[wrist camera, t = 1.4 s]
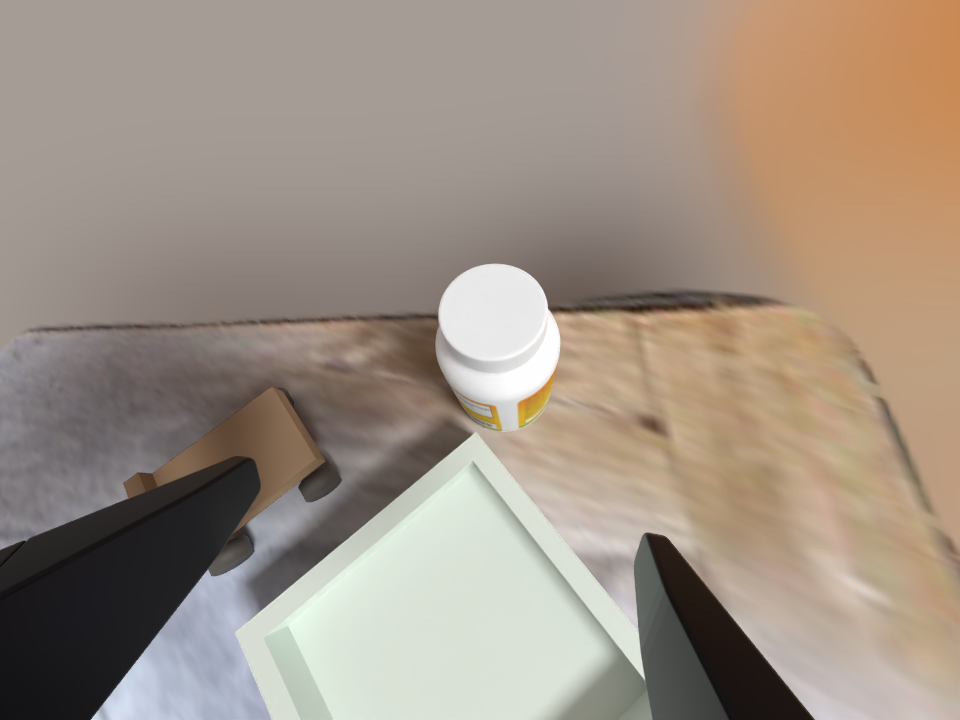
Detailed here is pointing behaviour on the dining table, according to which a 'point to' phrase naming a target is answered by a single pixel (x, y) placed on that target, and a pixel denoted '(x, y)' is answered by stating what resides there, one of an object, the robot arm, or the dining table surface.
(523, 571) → the tray
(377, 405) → the dining table surface
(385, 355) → the dining table surface
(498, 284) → the supplement bottle
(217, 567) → the cart
